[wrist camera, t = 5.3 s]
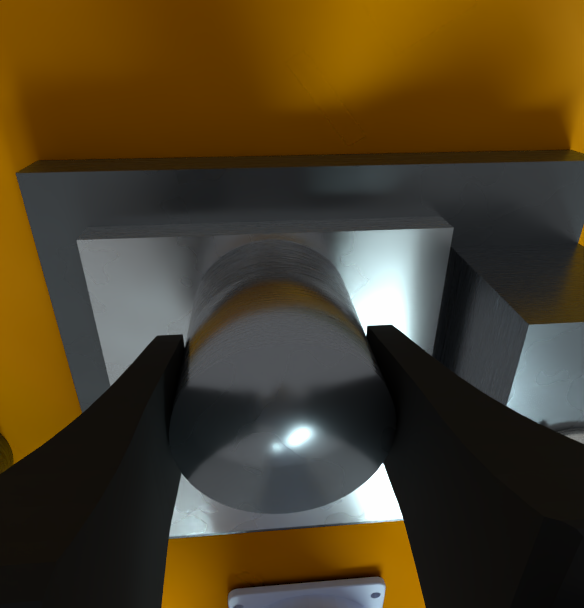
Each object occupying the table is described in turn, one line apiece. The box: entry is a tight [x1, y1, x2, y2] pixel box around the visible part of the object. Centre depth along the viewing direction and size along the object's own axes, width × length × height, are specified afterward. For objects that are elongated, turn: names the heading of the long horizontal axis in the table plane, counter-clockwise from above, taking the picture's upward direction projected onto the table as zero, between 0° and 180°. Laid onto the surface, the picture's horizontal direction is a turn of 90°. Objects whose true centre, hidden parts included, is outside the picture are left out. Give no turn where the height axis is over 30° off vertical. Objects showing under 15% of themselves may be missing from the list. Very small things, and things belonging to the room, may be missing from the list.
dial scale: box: [16, 150, 584, 539], centre depth 15 cm, size 15×16×6 cm
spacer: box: [169, 240, 396, 514], centre depth 12 cm, size 4×4×5 cm
